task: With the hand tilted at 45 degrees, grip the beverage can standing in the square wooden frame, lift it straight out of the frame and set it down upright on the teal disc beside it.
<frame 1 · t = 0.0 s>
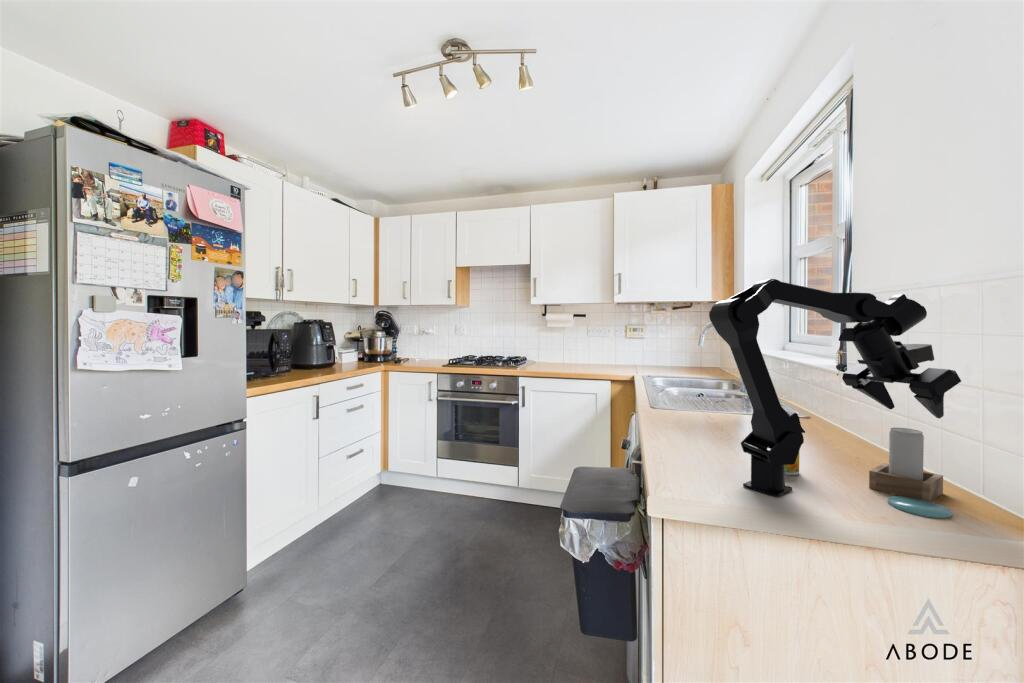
hand: (915, 412, 81), 15 cm above the worktop, tool tilted 35°, fingers open, 9 cm apart
beverage can: (905, 491, 78), resting in square wooden frame
square wooden frame: (905, 490, 78), on the worktop
supplement bottle: (784, 472, 89), on the worktop
teal disc: (918, 508, 70), on the worktop
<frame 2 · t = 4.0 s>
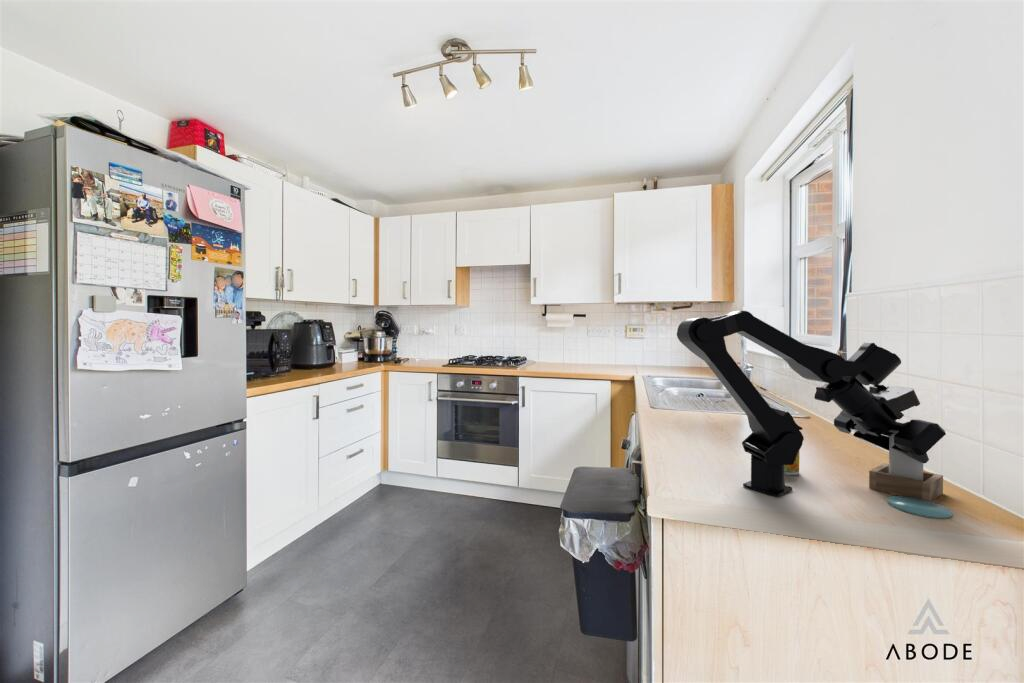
hand: (913, 457, 78), 7 cm above the worktop, tool tilted 45°, fingers closed on beverage can, 5 cm apart
beverage can: (905, 491, 78), resting in square wooden frame, touching gripper
everything else where it was.
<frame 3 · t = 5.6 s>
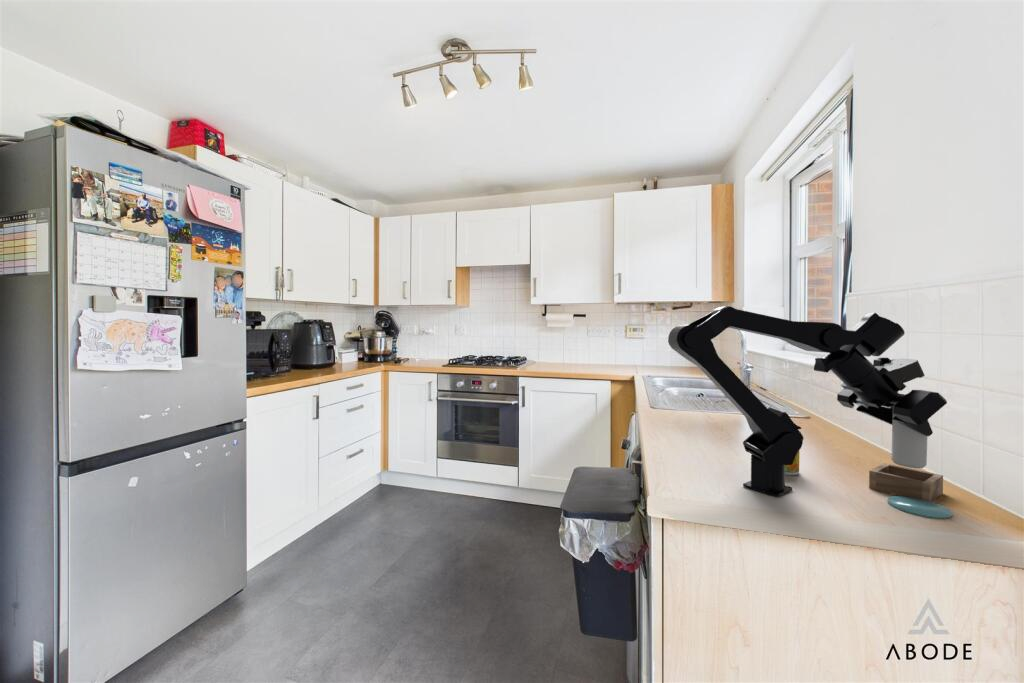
hand: (917, 431, 76), 12 cm above the worktop, tool tilted 45°, fingers closed on beverage can, 5 cm apart
beverage can: (908, 465, 77), point 5 cm above the worktop, touching gripper
everything else where it was.
when the fingers open (8 cm above the worktop, at t = 7.6 s): beverage can stays where it is, resting on teal disc.
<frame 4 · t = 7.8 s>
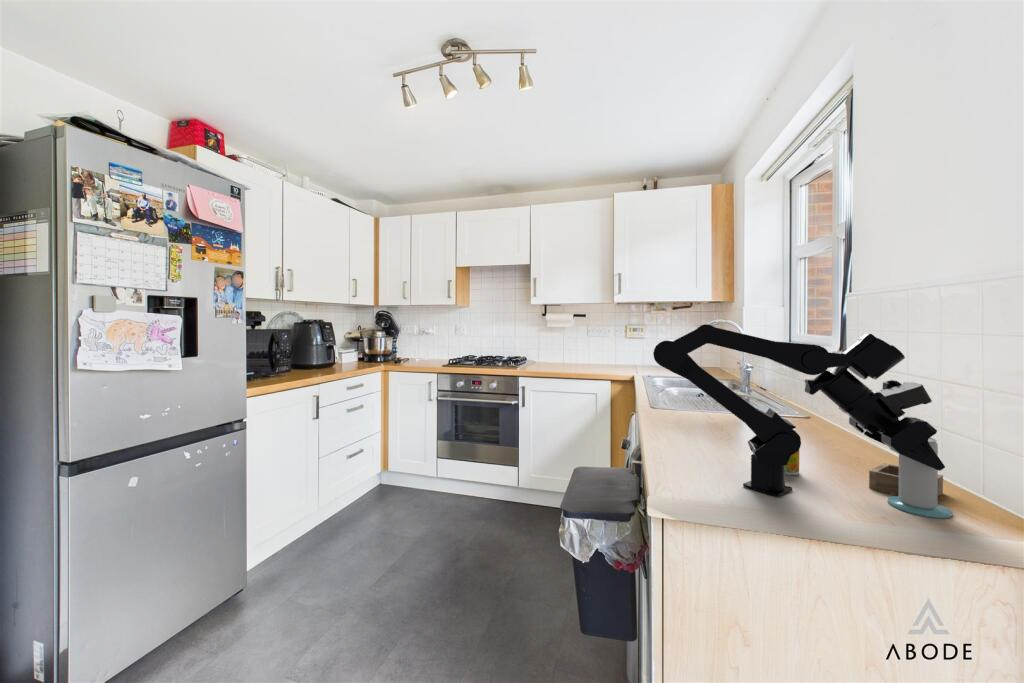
hand: (929, 462, 70), 8 cm above the worktop, tool tilted 45°, fingers open, 7 cm apart
beverage can: (917, 505, 71), resting on teal disc
everything else where it was.
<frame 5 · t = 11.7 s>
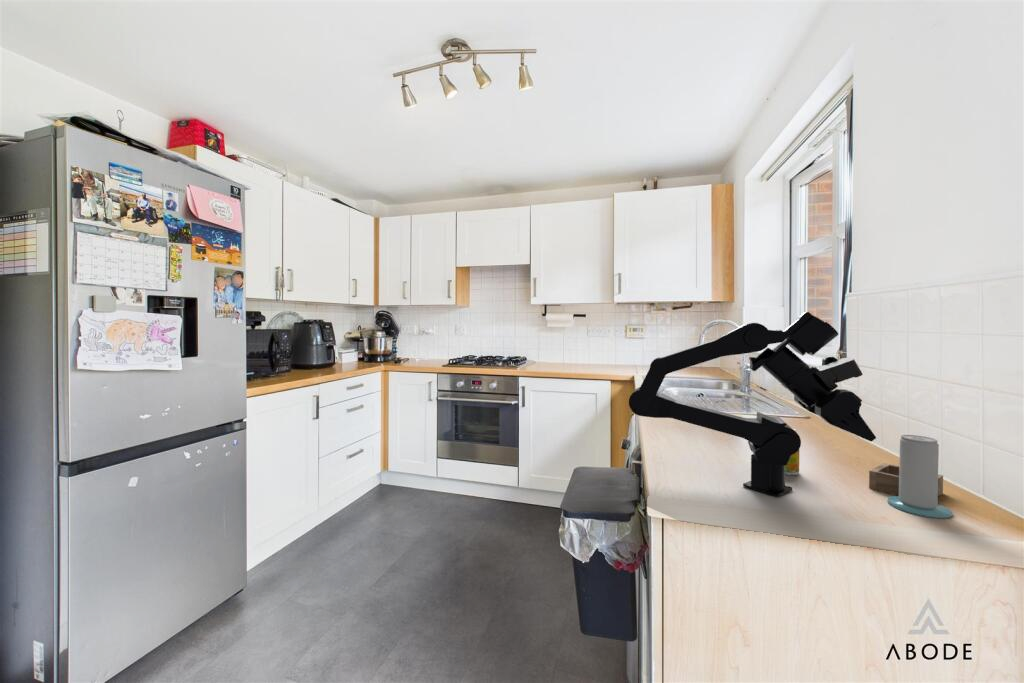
hand: (862, 433, 73), 13 cm above the worktop, tool tilted 45°, fingers open, 9 cm apart
nothing on the worktop moved.
at the end: beverage can 0.1 cm off-centre on the teal disc, point 0.3 cm above the teal disc's base; beverage can tilted 0°; the gripper is holding nothing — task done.
